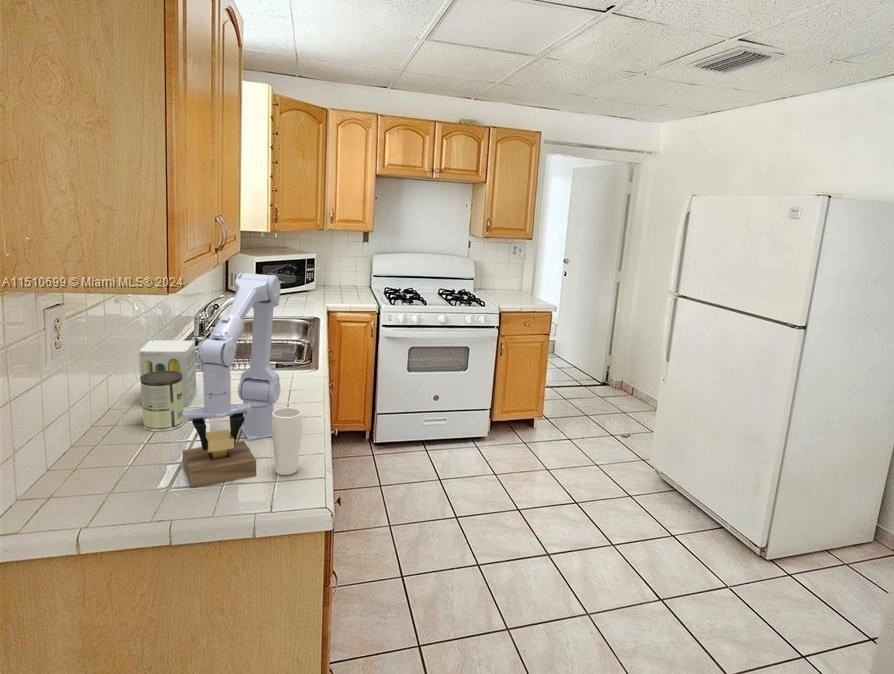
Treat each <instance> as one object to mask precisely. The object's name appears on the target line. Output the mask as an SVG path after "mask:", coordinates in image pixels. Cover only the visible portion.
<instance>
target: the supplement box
mask: <svg viewBox="0 0 894 674" xmlns="http://www.w3.org/2000/svg"><path fill="white" fill-rule="evenodd" d="M138 357H139V358H138V359H139V360H138V361H139V375H140V377H141V376H142V375H144V374H147V373H150V372H155V371H176V372H179V373H181V374H182V389H183V407H189V406H190V404H191V402H192V401H193V399H194V397H195V396H196V395H197V372H196V371H197V370H196V368H197V367H196V341H195V340H176V339H173V340H169V339H166V340H165V339H164V340H163V339H161V340H159V339H155V340H153V339H150V340H149V341H148V342H146V344H145V345H144V346H143V347H141V349H139V351H138ZM140 377H139V378H140ZM140 394H141V395H140V396H141V398H142V392H141V391H140Z"/></svg>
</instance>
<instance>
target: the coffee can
mask: <svg viewBox="0 0 894 674" xmlns="http://www.w3.org/2000/svg"><path fill="white" fill-rule="evenodd" d="M139 380H140V390H141V391H140V393H141V392H142V397H141V407H142V420H143V424H142V425H143V428H144V429H145V430H147V431H150V432H166V431H172V430H176V429H178V428H180V427H182V426H183V425H184V424H185V423H184V421H183V412H185V411H184V406H183V389H182V374H181V373H179V372H176V371H155V372H150V373H147V374H144V375H142V376H141V377H139Z"/></svg>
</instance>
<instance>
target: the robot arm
mask: <svg viewBox="0 0 894 674" xmlns="http://www.w3.org/2000/svg"><path fill="white" fill-rule="evenodd" d="M234 291H235V295H234V298H233V301H232V303H231V306H230V308H229V310H228V313H227V314H223V315H222V316H221V317H219V320H218V321H217V322H216V324H215V327H214V328H213V330H212V332H211V334H210V336H209V338H206V339H204V340H203V341H201V342H200V343H199V345H198V349H197V353H196V358H197V362H198V363H199V367H200V369H199V370H200V372H202V375H203V376H202V377H203V379H202V380H203V407H200V408H196V409H191V410H188V411H184V412H183V421H184V424H187V423H188V424H189V423H190V422H192V425H193V427H194V428H195V430H196V433H198V436H199V440H200V444H201V447H202V449H203V450H207V444H206V432H207V425H206V421H205V420H208V419H209V420H211V419H222V418H226V417H229V427H230V430H229V431H230V433H231V434H232V436H233V437H234V446H235V443H236V442H237V439H238V434H239V432H240V430H241V431H242V433H243V434H244V436H245V438H246V439H247V440H248V441H253V440H258V439H265V438H273V437H272V412H273V411H274V404H276V403H277V401H278V400H279V398H280V395H281V384H280V379H281V378H280V375H279V374H278V373H277V372H276V371H275V370H274V369H272V368H271V366H270V365H271V354H272V353H271V349H272V336H273V335H272V333H273V321H274V320H273V319H274V318H273V317H274V308H275V307H277V306H279V304H280V296H281V283H280V279H279V278H278V276H277V275H276V274H271V275H269V274H258V273H247V272H244V271H243V272H239V273H238V275H237V276H236V278H235V281H234ZM251 308H252V309H253V318H252V319H253V320H252V321H253V322H252V333H251V350H250V366H249V368H247V369H246V370H244V371H243V372H242V373H241V374H240V380H239V383H238V386H237V394H238V398H239V399H240V400H241V401H242V404H232V398H231V397H232V389H231V386H232V385H231V379H232V378H231V365H232V364H233V362H234V360H235V359H236V358H235V357H236V350H237V347H238V346H237V343H238V341H239V339H240V336H241V335H242V332H243V331H244V329H245V325H244V322H243V320H244V319H245V318H246V316H247V315H248V313H249V312H250V310H251Z"/></svg>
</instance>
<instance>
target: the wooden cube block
mask: <svg viewBox="0 0 894 674" xmlns="http://www.w3.org/2000/svg"><path fill="white" fill-rule="evenodd" d="M206 444H207V451H208V452H210V458H211V460H215V459H221V458H227V449H233V448H234V437H233V436H232V434H231V433H230V430H229V429H221V430H213V431H208V432H207V431H206Z"/></svg>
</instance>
